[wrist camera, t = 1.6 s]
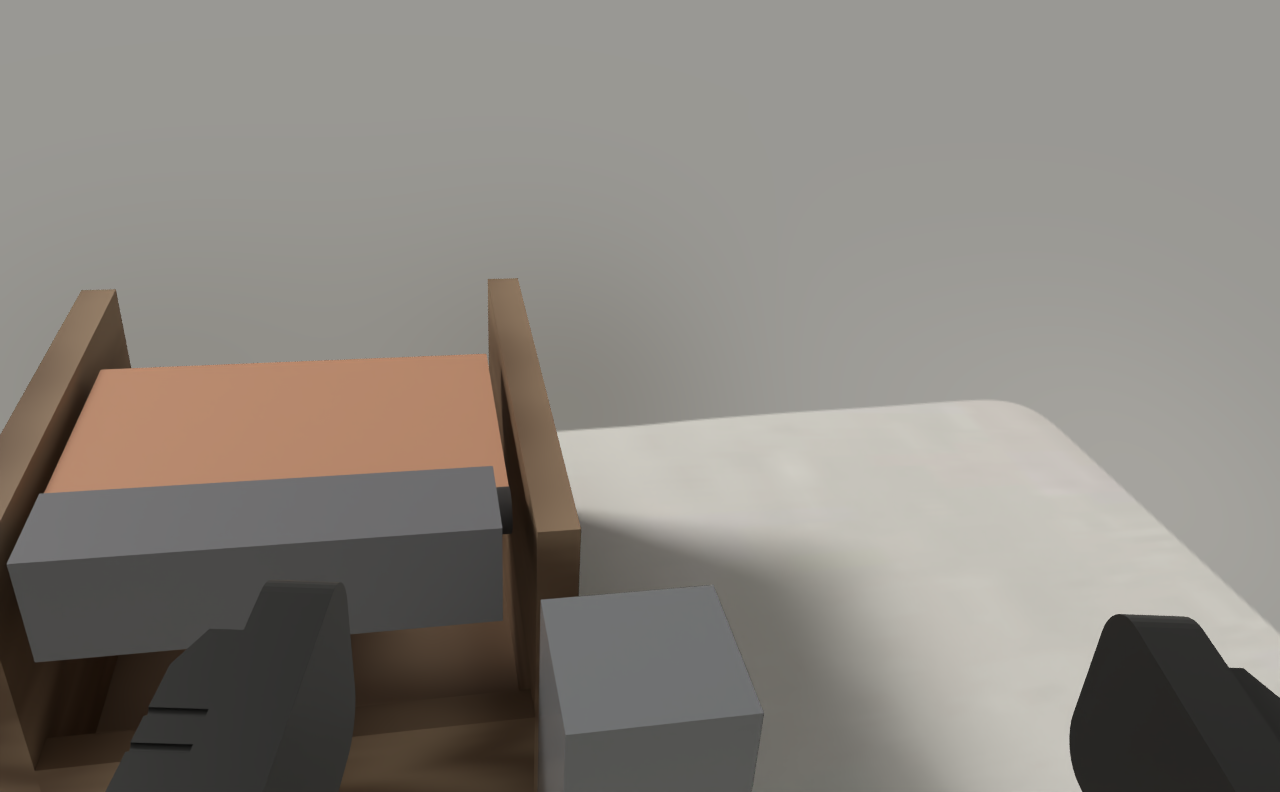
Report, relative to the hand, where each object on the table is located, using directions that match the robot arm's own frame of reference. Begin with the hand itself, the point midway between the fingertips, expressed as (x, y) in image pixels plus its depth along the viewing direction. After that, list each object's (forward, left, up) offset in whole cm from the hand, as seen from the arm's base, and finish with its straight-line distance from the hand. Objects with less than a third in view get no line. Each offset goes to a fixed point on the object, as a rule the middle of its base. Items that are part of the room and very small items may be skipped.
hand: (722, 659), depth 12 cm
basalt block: (-2, -11, -21) cm, 24 cm away
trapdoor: (+7, -21, -13) cm, 26 cm away
